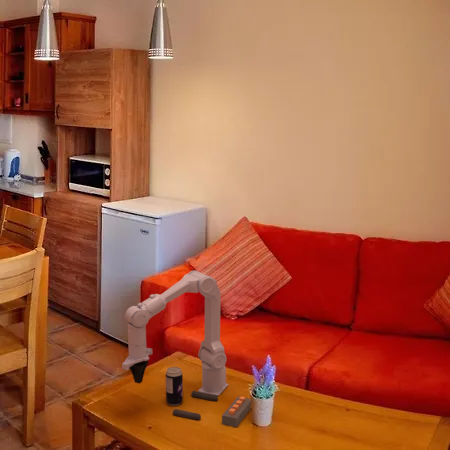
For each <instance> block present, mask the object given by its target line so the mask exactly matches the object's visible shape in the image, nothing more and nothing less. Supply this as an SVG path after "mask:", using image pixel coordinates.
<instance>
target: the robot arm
mask: <svg viewBox="0 0 450 450" xmlns="http://www.w3.org/2000/svg"><path fill="white" fill-rule="evenodd" d="M185 293H193V294H198V293H200V294H201V295H202V296H203V297H204V340H202V341H201V342H200V348H199V350H198V352H197V353H198V354H197V355H198V359H199V360H200V361H201V369H202V371H201V373H202V374H201V375H202V376H201V379H202V380H201V381H202V383H201V384H202V385H201V387H200V388H199V389H198V390H197V392H202V393H207V394H212V395H216V396H217V397H218V396H220V395H221V394H222V393H223V392H224V390H226V389H227V387H228V386H229V383H227V368H226V363H227V360H228V359H227V355H226V353H225V347H224V345H223V343H222V342H221V300H222V298H221V295H222V292H221V290H220V288H219V286H218V281H217V279H215V278H213V277H212V276H210V275H207V274H204V273H202V272H200V271H198V270H191V271H189V272H188V273H186V274H184V276H183V277H182V278H181V279H180V280H179V281H178V282H175V283H174V284H173V285H172V286H170V287H169V288H168V289H167V290H165V291H164V292H163V293H161V294H158V293H155V294H153V293H152V294H150V295H149V297H148V298H147V299H145V300H144V301H142V302H139V303H137V305H132V306H130V307H129V308H127V309H126V312H125V314H124V315H123V318H124V320H125V322H127V339H128V340H127V341H128V345H127V347H128V356H127V357H126V359H125V360H124V362H122V363H121V366H122V367H121V369H122V370H124V371H128V370H130V373H131V374H132V377H133V381H134V383H136V384H140V385H141V384H142V383H143V380H144V376H145V372H146V369H147V366H148V365H149V360H150V357H149V356H152V355H153V348H152V347H151V348H149V347H147V328H146V326H147V324H148V323H149V320H150V319H152V317H154V316H156V315H157V314H159V313H160V312H161V311H163V310H165V309H166V306H167V304H168V303H169V302H171V301H173V300H175V299H177V298H178V297H180V296H182V295H184V294H185Z"/></svg>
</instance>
